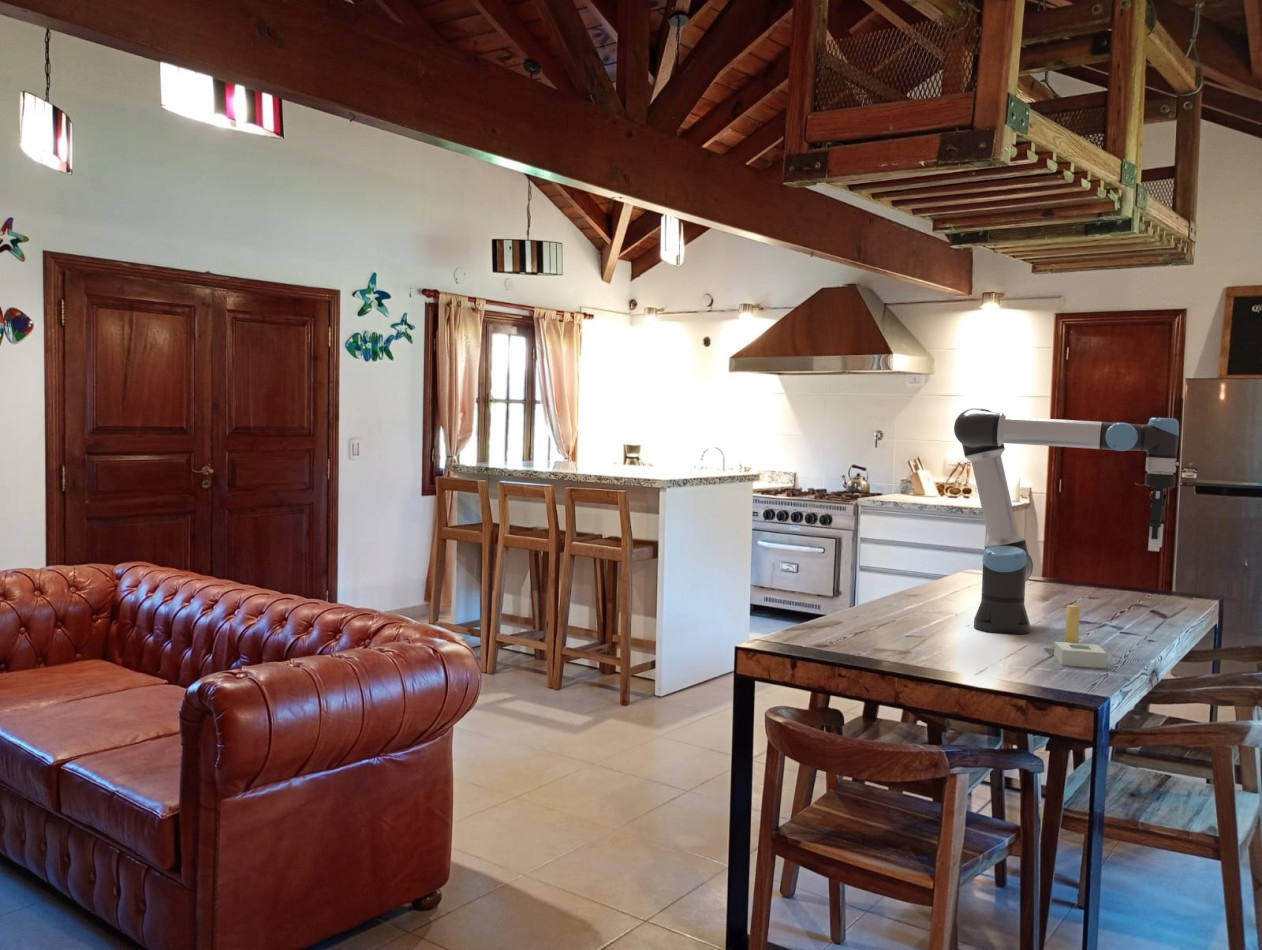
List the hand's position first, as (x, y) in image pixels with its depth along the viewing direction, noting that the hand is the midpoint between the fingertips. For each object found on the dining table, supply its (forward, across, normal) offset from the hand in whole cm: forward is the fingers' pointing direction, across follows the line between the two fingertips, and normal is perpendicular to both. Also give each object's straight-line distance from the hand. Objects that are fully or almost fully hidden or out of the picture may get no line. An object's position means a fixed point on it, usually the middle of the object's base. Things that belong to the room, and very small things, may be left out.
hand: (1155, 548), depth 283 cm
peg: (+25, -40, +16) cm, 49 cm away
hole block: (+25, -49, +12) cm, 57 cm away
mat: (+25, -40, +16) cm, 50 cm away
